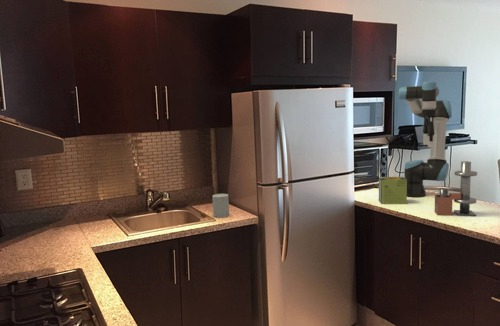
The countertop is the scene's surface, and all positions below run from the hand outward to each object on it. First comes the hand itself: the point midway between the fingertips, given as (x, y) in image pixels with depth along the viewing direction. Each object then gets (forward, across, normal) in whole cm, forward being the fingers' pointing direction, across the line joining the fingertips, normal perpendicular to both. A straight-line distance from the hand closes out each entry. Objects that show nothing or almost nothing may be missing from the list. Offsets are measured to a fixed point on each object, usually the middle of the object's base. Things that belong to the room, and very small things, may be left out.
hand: (428, 145), depth 246 cm
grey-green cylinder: (+37, +25, -119) cm, 127 cm away
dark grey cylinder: (+37, +13, +6) cm, 39 cm away
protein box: (+37, -14, -18) cm, 43 cm away
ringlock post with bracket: (+37, +13, +12) cm, 41 cm away
